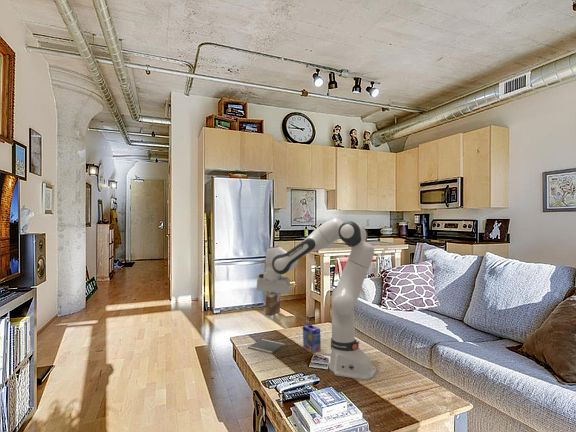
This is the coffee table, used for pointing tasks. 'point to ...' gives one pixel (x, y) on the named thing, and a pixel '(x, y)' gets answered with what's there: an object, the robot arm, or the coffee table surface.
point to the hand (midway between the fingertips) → (273, 300)
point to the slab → (272, 304)
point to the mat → (266, 346)
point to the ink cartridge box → (311, 338)
